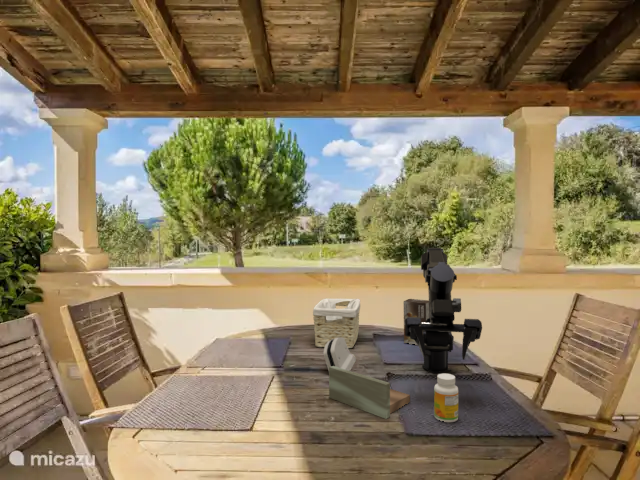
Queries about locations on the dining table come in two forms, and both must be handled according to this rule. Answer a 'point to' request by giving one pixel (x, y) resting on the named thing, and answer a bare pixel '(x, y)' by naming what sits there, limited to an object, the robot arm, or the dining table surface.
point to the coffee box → (415, 313)
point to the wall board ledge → (365, 392)
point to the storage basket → (336, 321)
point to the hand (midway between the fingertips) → (444, 358)
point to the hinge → (338, 354)
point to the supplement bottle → (446, 398)
